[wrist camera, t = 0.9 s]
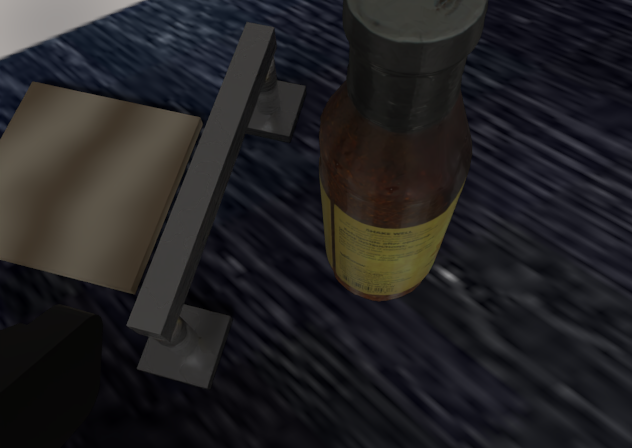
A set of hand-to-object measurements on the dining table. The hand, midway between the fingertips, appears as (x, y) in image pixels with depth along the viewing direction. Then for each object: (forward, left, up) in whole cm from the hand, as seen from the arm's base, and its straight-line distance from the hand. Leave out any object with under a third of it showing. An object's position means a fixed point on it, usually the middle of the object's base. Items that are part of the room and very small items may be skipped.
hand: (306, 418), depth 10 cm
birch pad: (+19, -11, -21) cm, 30 cm away
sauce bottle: (0, -11, -21) cm, 24 cm away
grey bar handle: (+9, -11, -21) cm, 26 cm away
